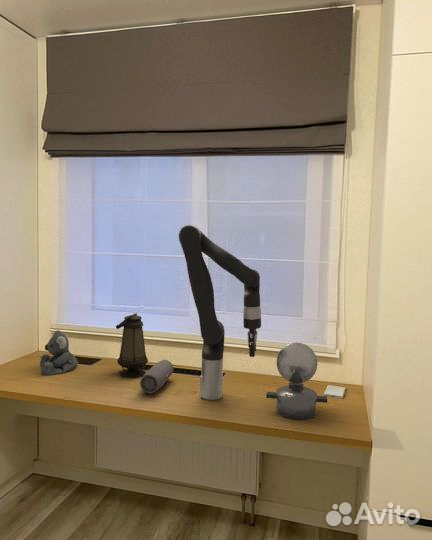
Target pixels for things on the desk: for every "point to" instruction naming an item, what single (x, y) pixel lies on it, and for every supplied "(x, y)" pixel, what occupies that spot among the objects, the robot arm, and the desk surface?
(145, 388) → the bluetooth speaker
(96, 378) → the desk surface
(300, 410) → the pot
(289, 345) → the lid
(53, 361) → the koala plush
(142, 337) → the lantern
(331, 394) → the hard drive
